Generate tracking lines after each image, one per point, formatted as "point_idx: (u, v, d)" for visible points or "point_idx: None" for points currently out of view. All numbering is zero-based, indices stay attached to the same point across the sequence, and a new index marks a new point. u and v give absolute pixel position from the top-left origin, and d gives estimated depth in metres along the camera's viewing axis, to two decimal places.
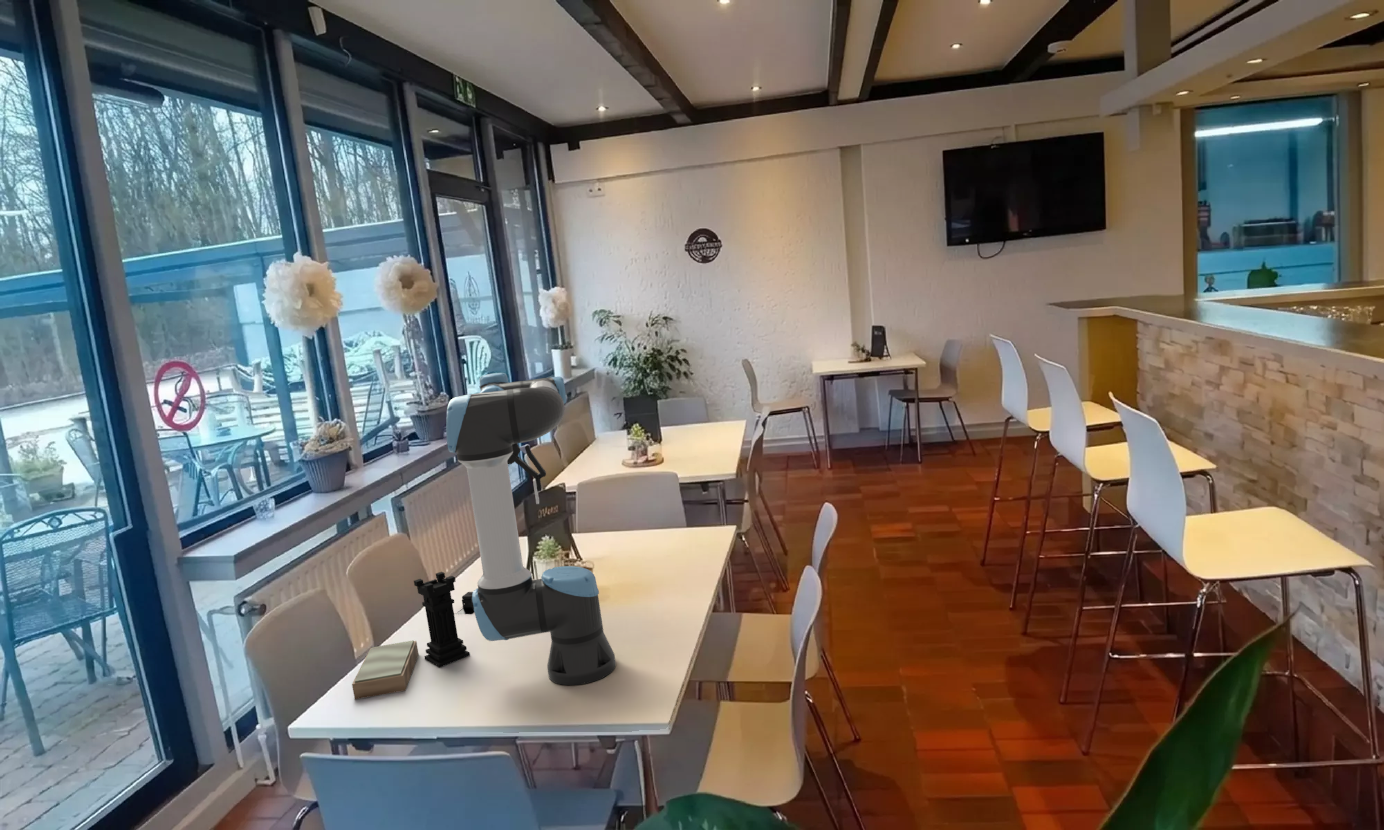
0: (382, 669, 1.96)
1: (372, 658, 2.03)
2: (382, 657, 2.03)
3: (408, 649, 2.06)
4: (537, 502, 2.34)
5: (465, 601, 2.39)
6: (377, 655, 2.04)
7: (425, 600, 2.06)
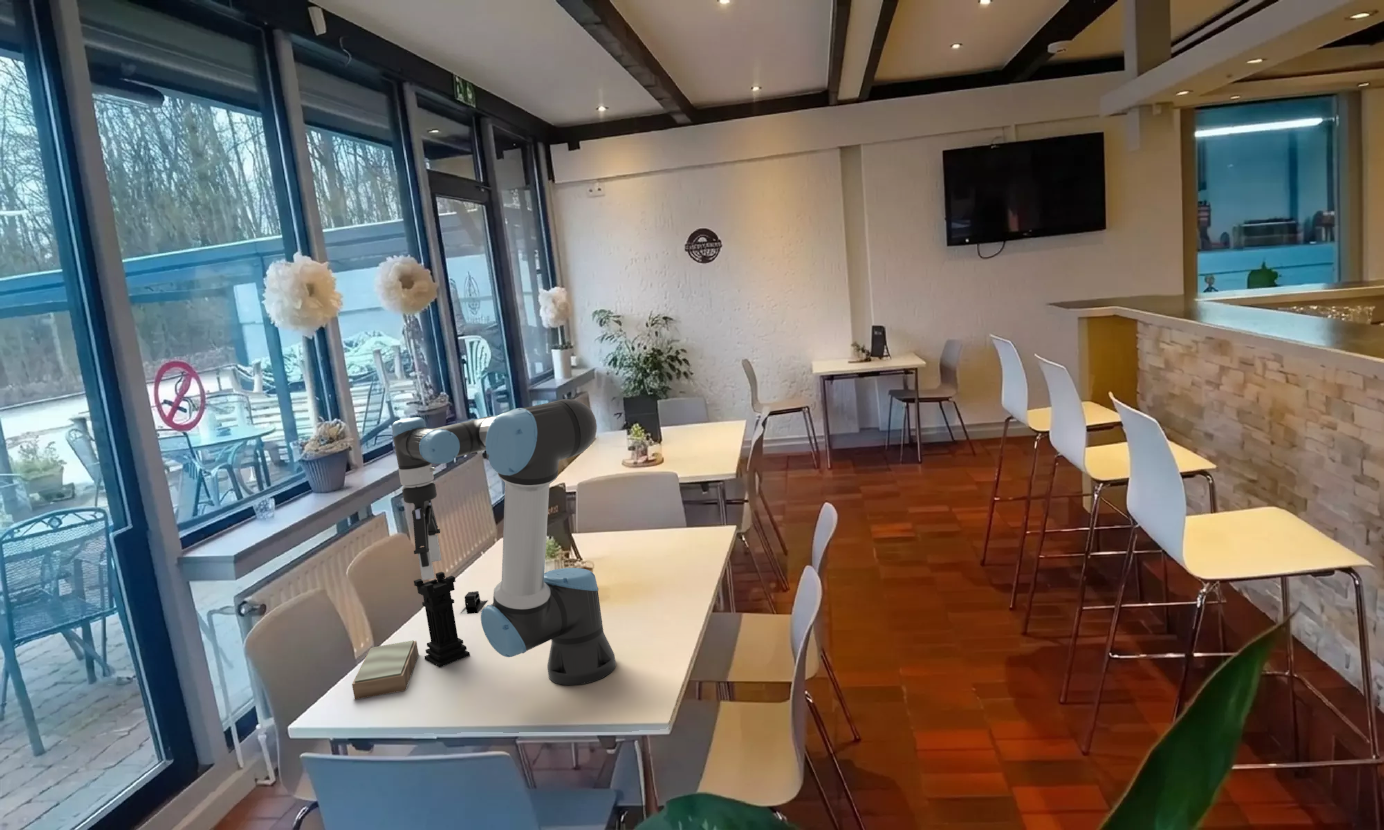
0: (382, 669, 1.96)
1: (372, 658, 2.03)
2: (382, 657, 2.03)
3: (408, 649, 2.06)
4: None
5: (468, 601, 2.39)
6: (377, 655, 2.04)
7: (425, 600, 2.06)
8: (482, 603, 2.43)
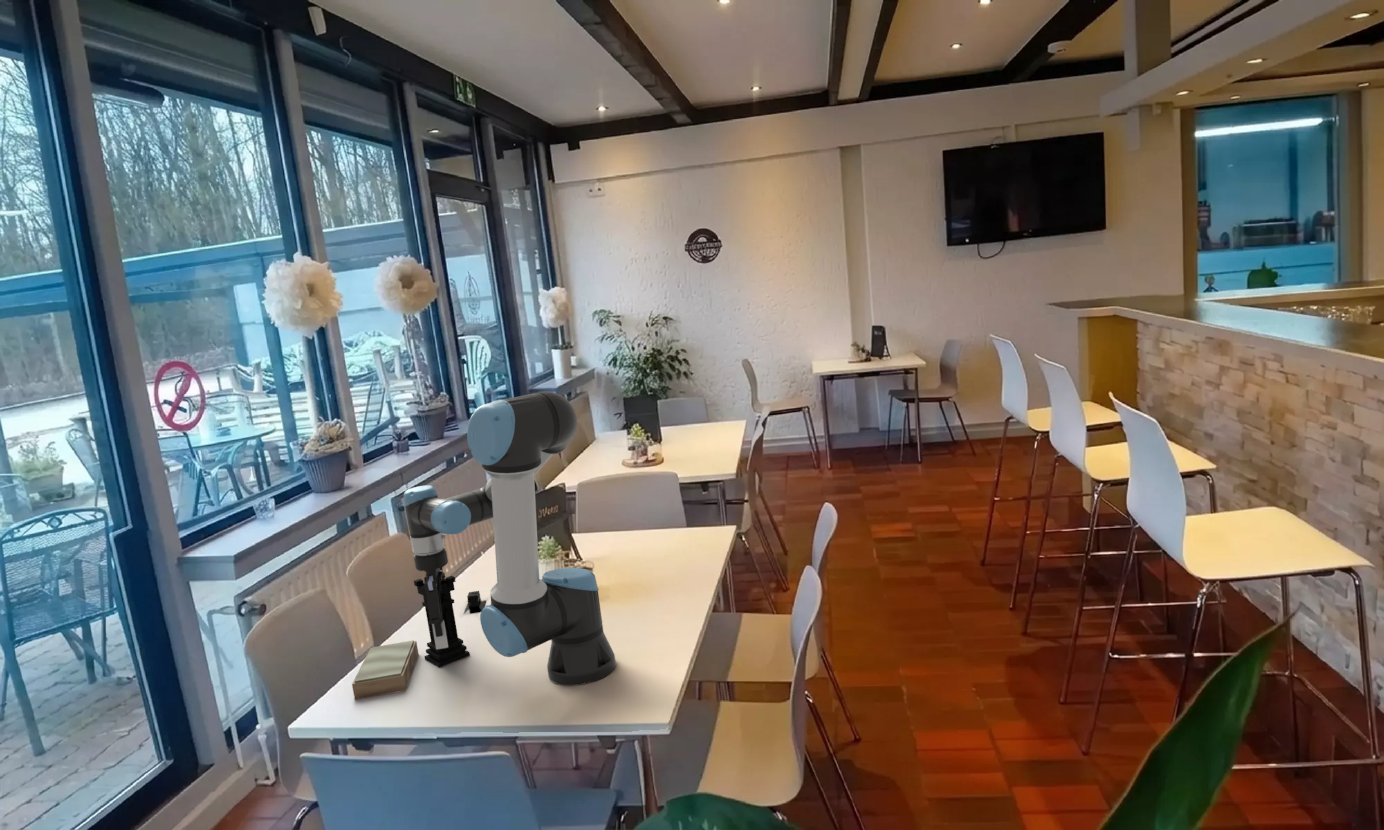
0: (382, 669, 1.96)
1: (372, 658, 2.03)
2: (382, 657, 2.03)
3: (408, 649, 2.06)
4: None
5: (471, 600, 2.39)
6: (377, 655, 2.04)
7: (425, 600, 2.06)
8: (483, 602, 2.43)
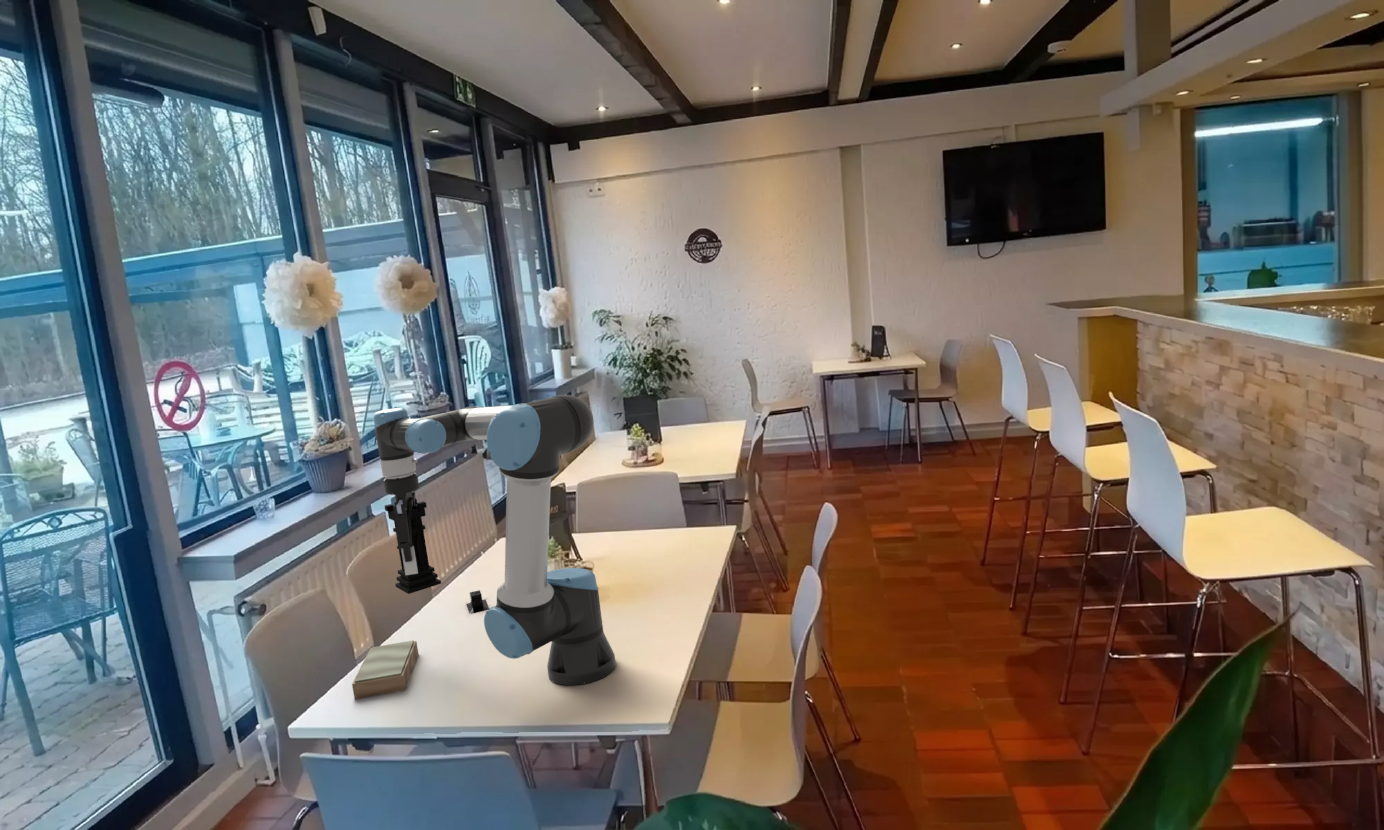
0: (382, 669, 1.96)
1: (372, 658, 2.03)
2: (382, 657, 2.03)
3: (408, 649, 2.06)
4: None
5: (475, 600, 2.39)
6: (377, 655, 2.04)
7: None
8: (483, 602, 2.44)
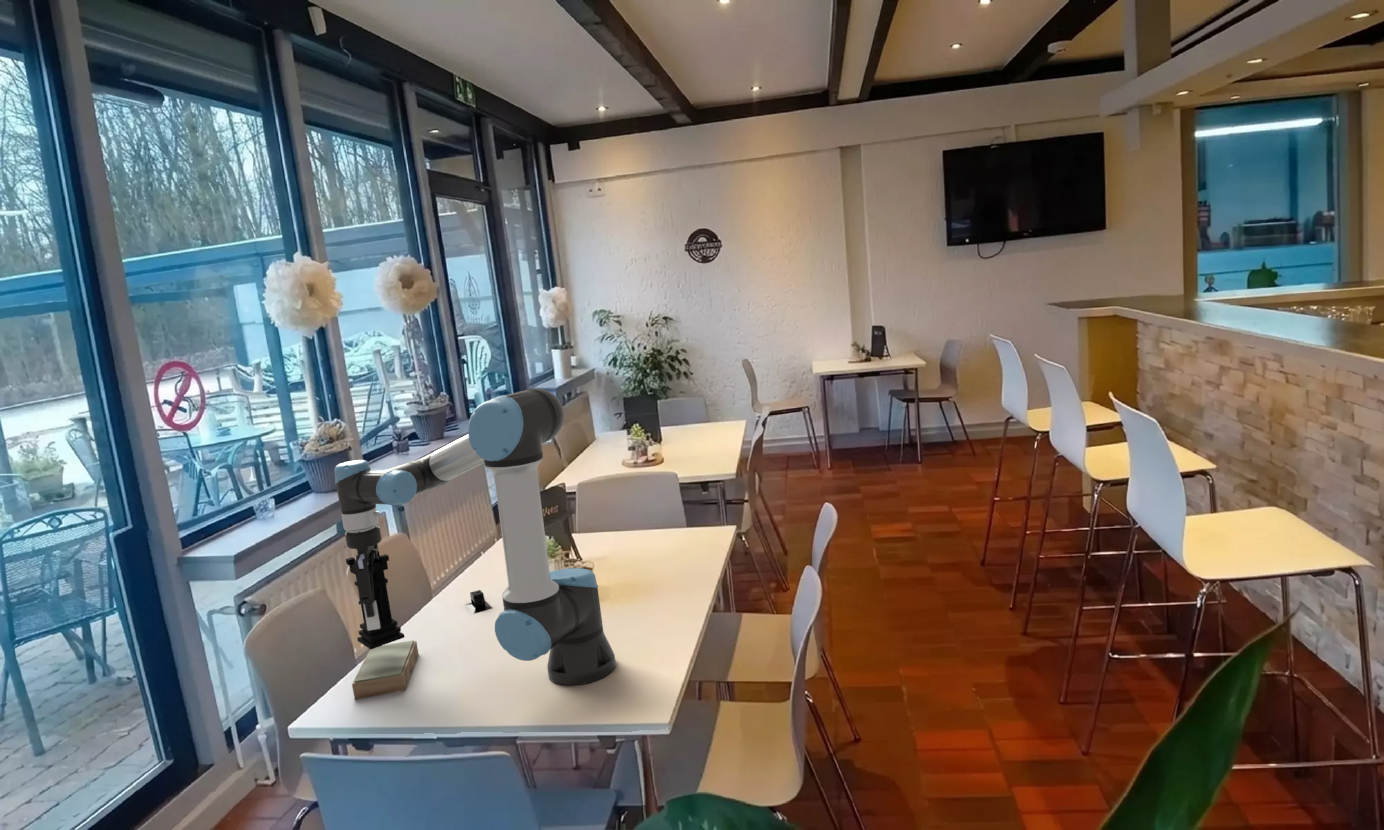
0: (382, 669, 1.96)
1: (372, 658, 2.03)
2: (382, 657, 2.03)
3: (408, 649, 2.06)
4: None
5: (478, 599, 2.39)
6: (377, 655, 2.04)
7: None
8: None
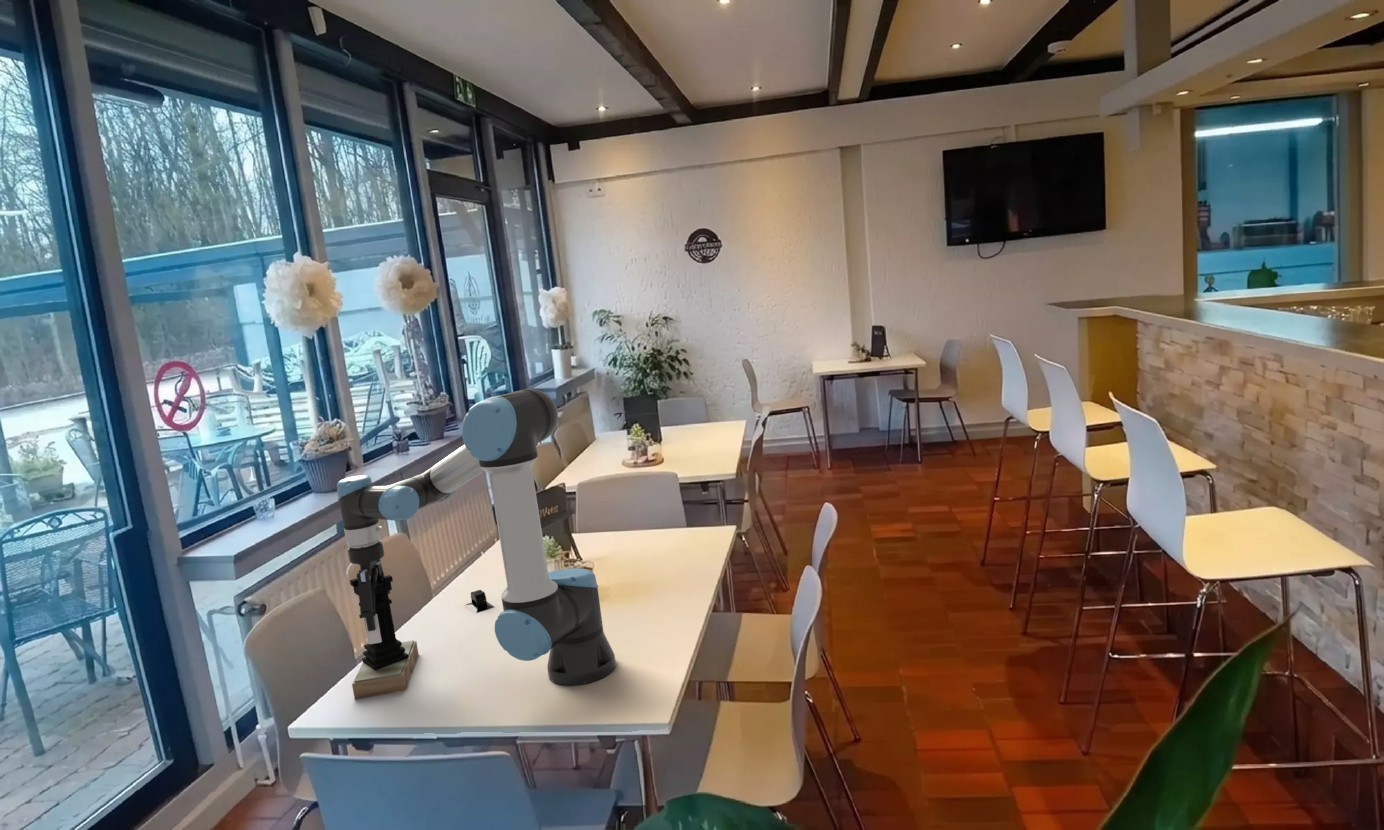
0: (382, 669, 1.96)
1: None
2: None
3: (408, 649, 2.06)
4: None
5: (479, 599, 2.39)
6: None
7: None
8: None
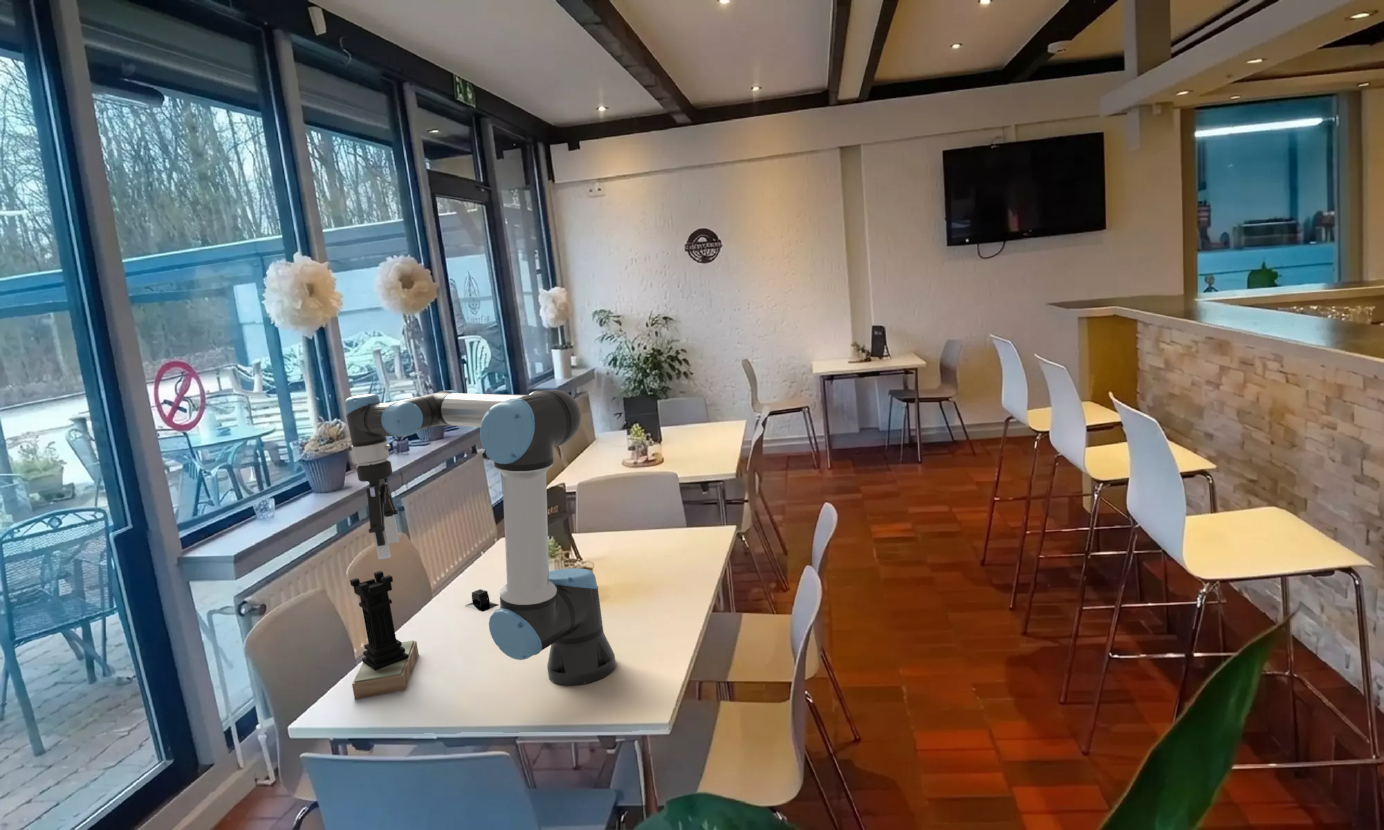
0: (382, 669, 1.96)
1: None
2: None
3: (408, 649, 2.06)
4: None
5: (483, 597, 2.40)
6: None
7: (362, 600, 1.98)
8: None
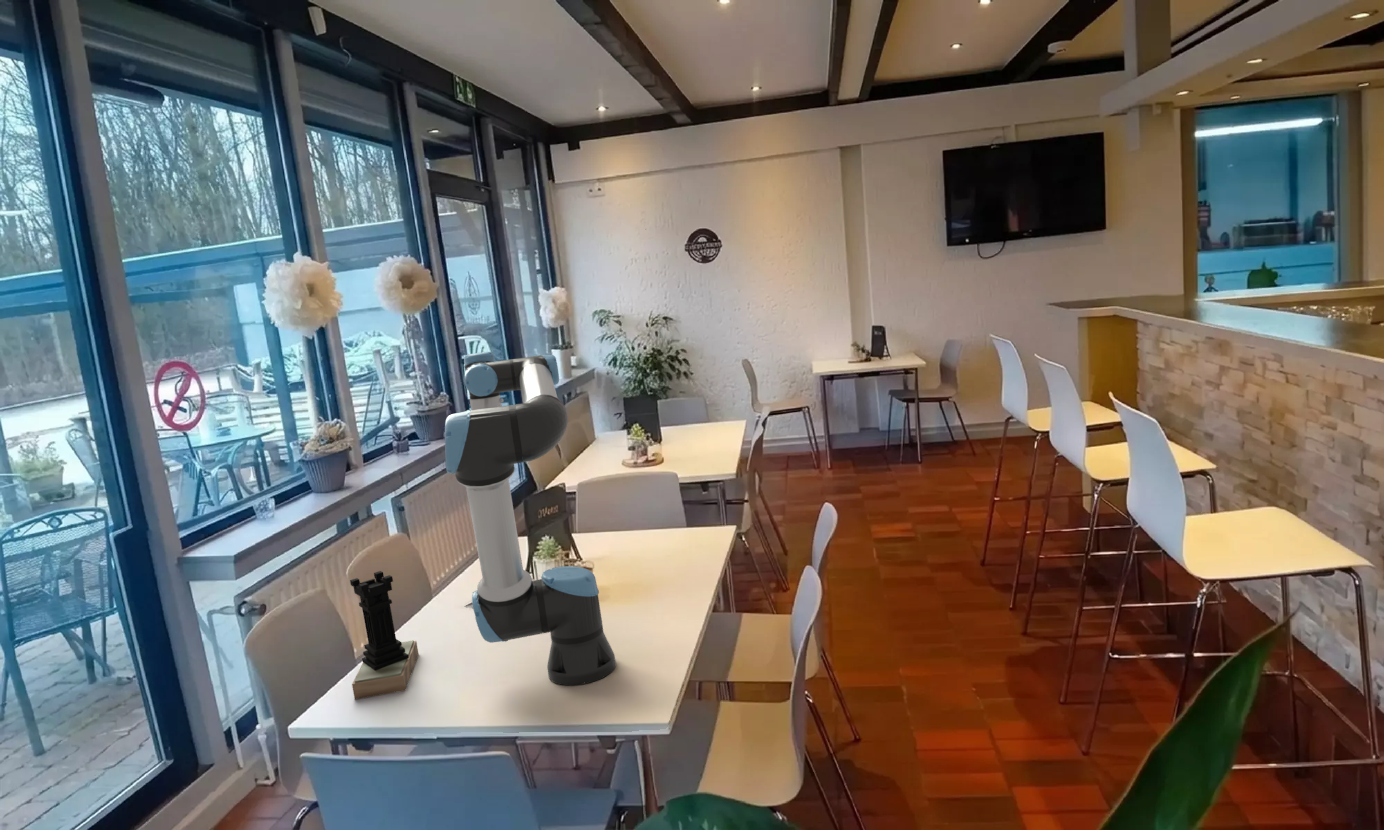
0: (382, 669, 1.96)
1: None
2: None
3: (408, 649, 2.06)
4: None
5: None
6: None
7: (362, 600, 1.98)
8: None
